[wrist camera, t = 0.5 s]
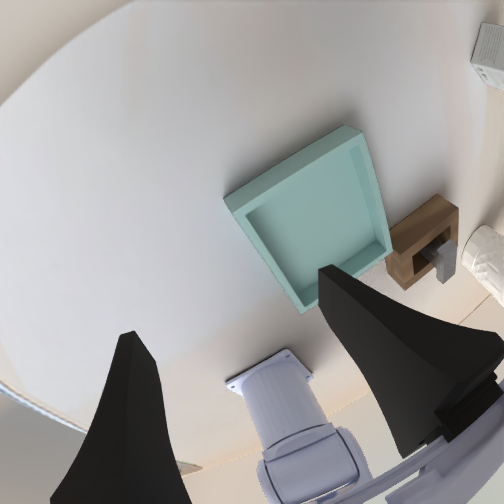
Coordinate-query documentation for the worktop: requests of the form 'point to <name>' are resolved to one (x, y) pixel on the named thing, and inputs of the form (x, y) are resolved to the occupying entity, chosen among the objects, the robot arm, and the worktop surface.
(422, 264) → the frame ring
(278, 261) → the tray
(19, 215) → the worktop surface
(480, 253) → the white cup
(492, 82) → the skincare box
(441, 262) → the t post
